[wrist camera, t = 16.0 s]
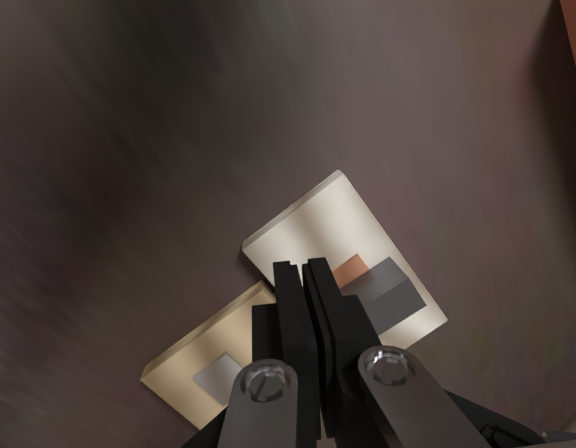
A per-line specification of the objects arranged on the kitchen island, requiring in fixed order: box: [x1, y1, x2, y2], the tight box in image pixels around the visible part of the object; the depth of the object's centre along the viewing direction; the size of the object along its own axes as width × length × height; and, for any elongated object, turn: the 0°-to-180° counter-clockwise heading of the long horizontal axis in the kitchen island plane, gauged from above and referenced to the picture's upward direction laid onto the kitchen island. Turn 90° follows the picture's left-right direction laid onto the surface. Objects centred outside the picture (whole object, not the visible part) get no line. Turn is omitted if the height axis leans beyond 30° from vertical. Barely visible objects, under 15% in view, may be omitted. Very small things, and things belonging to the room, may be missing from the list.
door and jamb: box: [140, 170, 448, 430], centre depth 34 cm, size 26×18×2 cm
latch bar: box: [339, 256, 427, 336], centre depth 31 cm, size 14×3×5 cm, turn 125°
